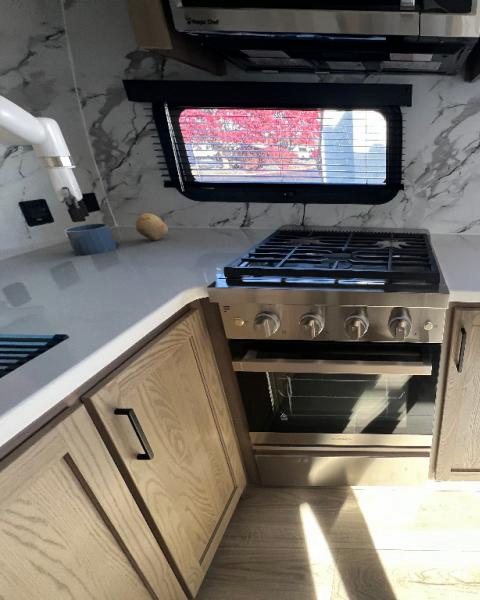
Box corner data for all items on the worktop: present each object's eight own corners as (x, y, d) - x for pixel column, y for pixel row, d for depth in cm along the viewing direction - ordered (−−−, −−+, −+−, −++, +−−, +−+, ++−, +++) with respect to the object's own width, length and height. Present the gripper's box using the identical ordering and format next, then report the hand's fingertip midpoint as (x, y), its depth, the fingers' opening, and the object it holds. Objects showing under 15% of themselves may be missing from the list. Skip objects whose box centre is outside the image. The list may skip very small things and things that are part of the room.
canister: (73, 257, 107) (61, 233, 104) (77, 249, 115) (67, 226, 112) (116, 251, 113) (106, 227, 109) (118, 243, 121) (108, 221, 118)
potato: (136, 241, 123) (125, 214, 118) (161, 235, 130) (152, 209, 125) (149, 244, 119) (138, 216, 114) (174, 238, 126) (165, 211, 121)
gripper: (46, 162, 106) (70, 216, 113) (33, 165, 93) (61, 225, 101) (77, 161, 110) (98, 213, 117) (69, 163, 97) (93, 221, 105)
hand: (81, 219), depth 109 cm, fingers open, 9 cm apart
